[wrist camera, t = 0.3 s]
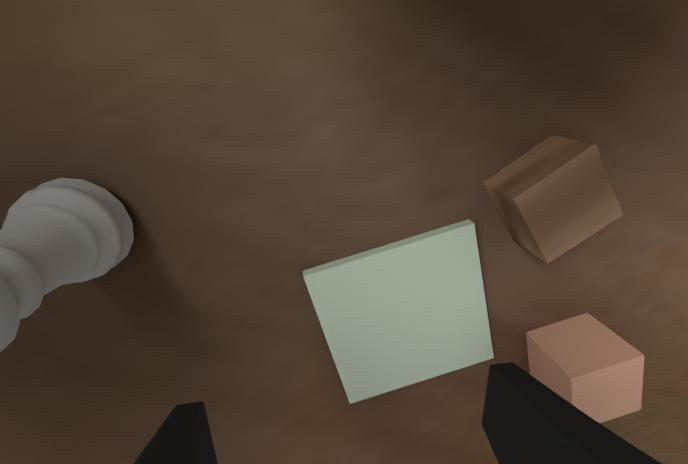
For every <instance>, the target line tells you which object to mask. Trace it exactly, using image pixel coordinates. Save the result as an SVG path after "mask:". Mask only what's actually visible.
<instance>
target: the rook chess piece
mask: <svg viewBox="0 0 688 464" xmlns="http://www.w3.org/2000/svg"><path fill="white" fill-rule="evenodd" d="M133 241H134V235H133V224H132V220H131V218H130V217H129V215H128V213H127V211H126V209H125V207H124V206H123V204H122V203H121V202H120V201H119V200H118V199H116V198H115V197H114V196H113V195H112V194H111V193H110V192H108V191H107V190H106V189H105V188H102V187H100V186H98V185H95V184H93V183H90V182H88V181H86V180H83V179H70V178H58V179H55V180H52V181H48V182H45V183H42V184H39V185H38V186H37V187H36V188H35V189H32V190H29V191H27V192H26V193H25V194H23V195H22V196H21V197H20V198H19V199H18V200H17V201H16V202H15V203H14V204H13V205H12V206H11V207H10V208H9V210H8V214H7V217H6V219H5V220H4V223H3V227H2V229H1V230H0V352H1V351H2V350H3V349H4V348H5V347H7V346H8V345H9V344H10V343H11V342H12V341H13V340H15V337H16V334H17V330H18V327H19V324H20V319H23V318H26V317H29V316H30V315H31V314H32V313H33V312H34V311H36V310H37V309H38V308H39V307H40V304H41V301H42V298H43V296H44V295H45V294H47V293H49V292H51V291H52V290H54V289H56V288H58V287H59V286H61V285H63V284H71V283H81V282H84V281H87V280H90V279H94V278H97V277H100V276H102V275H105V274H106V273H107V272H108V271H109V270H110V269H111V268H113V267H115V266H116V265H117V264H118V263H119V262H121V261H122V260H123V259H124V258H125V257H126V256H128V253H129V251H130V248H131V246H132V243H133Z"/></svg>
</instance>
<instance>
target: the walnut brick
mask: <svg viewBox="0 0 688 464" xmlns="http://www.w3.org/2000/svg"><path fill="white" fill-rule="evenodd" d="M482 184H483V186H484V188H485V190H486V191H487V193H488V195H489V197H490V199H491V200H492V202H493V204H494V206H495V208H496V210H497V211H498V213H499V215H500V217H501V219H502V220H503V222H504V224H505V226H506V228H507V229H508V231H509V233H510V235H511V237H512V238H513V240H514V241H515V242H516V243H518V244H519V245H521V246H522V247H524V248H525V249H526V250H528V251H529V252H531V253H532V254H534V255H535V256H537V257H538V258H540V259H541V260H542V261H544V262H545V263H547V264H548V263H550V262H551V261H553V260H555V259H556V258H558V257H559V256H561V255H562V254H564V253H565V252H567V251H568V250H570V249H571V248H573V247H575V246H576V245H578V244H579V243H581V242H582V241H584V240H585V239H587V238H588V237H590V236H591V235H593V234H595V233H596V232H598V231H599V230H601V229H602V228H604V227H605V226H607V225H608V224H610V223H611V222H613V221H615V220H616V219H618V218H619V217H621V216H622V215H623V212H622V210H621V207H620V204H619V202H618V199H617V197H616V194H615V191H614V189H613V186H612V184H611V181H610V178H609V176H608V173H607V171H606V168H605V165H604V163H603V160H602V158H601V155H600V152H599V150H598V147H597V145H596V143H593V142H587V141H582V140H576V139H570V138H565V137H559V136H554V135H551V136H549V137H548V138H546V139H545V140H543V141H542V142H541V143H539V144H538V145H536V146H535V147H533V148H532V149H530V150H529V151H528V152H526V153H525V154H523V155H522V156H520V157H519V158H518V159H516V160H515V161H513V162H512V163H510V164H509V165H507V166H506V167H505V168H503V169H502V170H500V171H499V172H497V173H496V174H495V175H493V176H492V177H490V178H489V179H487V180H486V181H484V182H483V183H482Z"/></svg>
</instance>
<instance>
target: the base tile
mask: <svg viewBox="0 0 688 464" xmlns="http://www.w3.org/2000/svg"><path fill="white" fill-rule="evenodd" d="M303 277H304V280H305V283H306V286H307V288H308V291H309V294H310V296H311V299H312V302H313V305H314V307H315V310H316V313H317V315H318V318H319V321H320V324H321V326H322V329H323V332H324V335H325V337H326V340H327V343H328V345H329V348H330V351H331V354H332V356H333V359H334V362H335V364H336V367H337V370H338V373H339V375H340V378H341V381H342V384H343V386H344V389H345V392H346V394H347V397H348V400H349V403H350V404H352V403H355V402H358V401H361V400H364V399H367V398H370V397H374V396H377V395H380V394H383V393H386V392H389V391H392V390H395V389H399V388H402V387H405V386H408V385H411V384H414V383H417V382H420V381H424V380H427V379H430V378H433V377H436V376H439V375H442V374H445V373H449V372H452V371H455V370H458V369H461V368H464V367H467V366H471V365H474V364H477V363H480V362H483V361H486V360H489V359H492V358H494V356H493V349H492V342H491V335H490V328H489V321H488V314H487V307H486V300H485V293H484V287H483V280H482V273H481V266H480V259H479V252H478V245H477V238H476V231H475V224H474V223H473V222H472V221H470V220H469V219H467V220H464V221H461V222H458V223H455V224H451V225H448V226H445V227H442V228H439V229H435V230H432V231H429V232H426V233H422V234H419V235H416V236H413V237H410V238H406V239H403V240H400V241H397V242H394V243H390V244H387V245H384V246H381V247H378V248H374V249H371V250H368V251H365V252H362V253H358V254H355V255H352V256H349V257H345V258H342V259H339V260H336V261H333V262H329V263H326V264H323V265H320V266H317V267H313V268H310V269H307V270H304V271H303Z"/></svg>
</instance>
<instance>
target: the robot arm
mask: <svg viewBox="0 0 688 464" xmlns="http://www.w3.org/2000/svg"><path fill="white" fill-rule="evenodd" d="M482 425H483V428H484V430H485V433H486V435H487V437H488V440H489V442H490V444H491V447H492V449H493V451H494V453H495V456H496V458H497V460H498V462H499V464H661V463H660V462H658V461H657V460H655V459H653V458H652V457H650V456H649V455H647V454H646V453H644V452H642V451H641V450H639V449H638V448H636V447H634V446H633V445H631V444H630V443H628V442H627V441H625V440H624V439H622V438H621V437H619V436H618V435H616V434H615V433H613V432H612V431H610V430H609V429H607V428H606V427H604V426H603V425H601V424H600V423H598V422H597V421H595V420H594V419H592V418H591V417H589V416H588V415H587V414H585V413H584V412H582V411H581V410H579V409H578V408H577V407H575V406H574V405H572V404H571V403H569V402H568V401H567V400H565V399H564V398H562V397H561V396H559V395H558V394H557V393H555V392H554V391H552V390H551V389H550V388H548V387H547V386H545V385H544V384H543V383H541V382H540V381H538V380H537V379H536V378H534V377H533V376H531V375H530V374H529V373H527V372H526V371H524V370H523V369H521V368H520V367H518V366H517V365H515V364H514V363H512V362H511V363H503V364H495V365H490V369H489V376H488V383H487V390H486V397H485V405H484V412H483V419H482ZM134 464H217V459H216V454H215V450H214V446H213V441H212V437H211V432H210V428H209V424H208V419H207V415H206V411H205V406H204V402H196V403H188V404H180V405H176V406H175V408H174V409H173V410H172V411H171V413H170V414H169V415H168V417H167V418H166V420H165V421H164V422H163V424H162V425H161V427H160V428H159V429H158V431H157V432H156V433H155V435H154V436H153V438H152V439H151V440H150V442H149V443H148V445H147V446H146V447H145V449H144V450H143V451H142V453H141V454H140V455H139V457H138V458H137V460H136V461H135V462H134Z"/></svg>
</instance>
